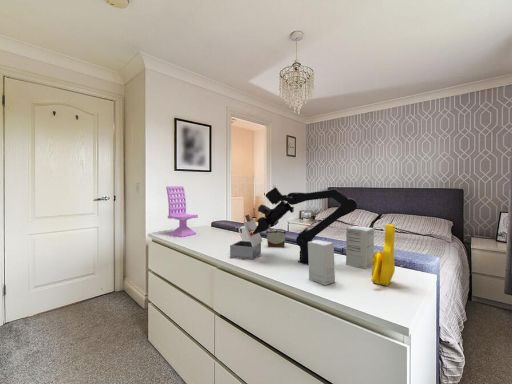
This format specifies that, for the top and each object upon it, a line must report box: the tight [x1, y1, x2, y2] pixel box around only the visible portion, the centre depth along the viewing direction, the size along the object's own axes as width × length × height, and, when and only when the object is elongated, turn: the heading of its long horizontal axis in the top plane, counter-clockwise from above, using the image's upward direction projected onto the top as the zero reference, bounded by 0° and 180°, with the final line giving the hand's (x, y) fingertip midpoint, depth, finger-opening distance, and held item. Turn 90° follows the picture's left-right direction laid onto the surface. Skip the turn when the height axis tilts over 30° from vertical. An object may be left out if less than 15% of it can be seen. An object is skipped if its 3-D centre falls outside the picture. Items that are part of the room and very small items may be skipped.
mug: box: [238, 225, 250, 241], centre depth 156 cm, size 11×9×10 cm
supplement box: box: [345, 225, 375, 270], centre depth 115 cm, size 10×9×17 cm
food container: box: [265, 228, 288, 249], centre depth 149 cm, size 12×6×10 cm, turn 84°
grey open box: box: [229, 240, 262, 261], centre depth 129 cm, size 12×12×6 cm
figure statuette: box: [371, 223, 396, 287], centre depth 93 cm, size 18×8×22 cm, turn 145°
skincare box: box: [308, 239, 336, 286], centre depth 96 cm, size 8×6×15 cm
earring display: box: [165, 185, 199, 238], centre depth 183 cm, size 15×17×35 cm
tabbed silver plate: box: [243, 214, 263, 247], centre depth 128 cm, size 15×12×2 cm
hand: (256, 232), depth 127 cm, fingers open, 8 cm apart
